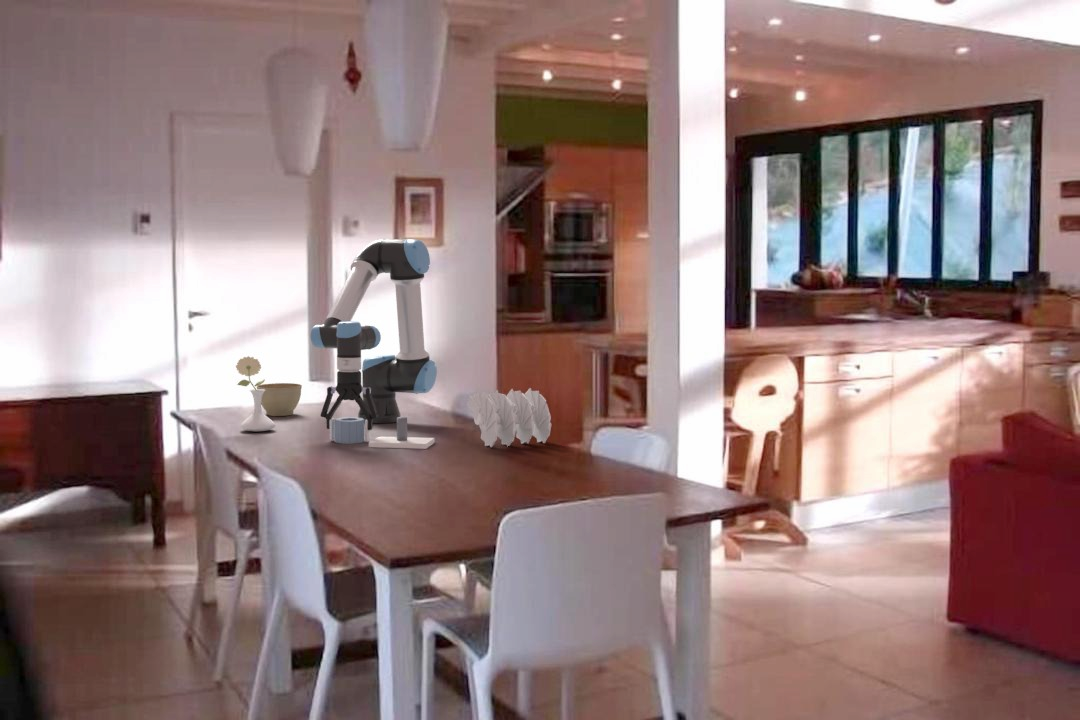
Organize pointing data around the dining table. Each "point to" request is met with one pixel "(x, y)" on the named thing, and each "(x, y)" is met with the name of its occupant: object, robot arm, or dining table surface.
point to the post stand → (402, 439)
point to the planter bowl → (280, 398)
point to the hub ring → (349, 430)
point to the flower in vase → (257, 418)
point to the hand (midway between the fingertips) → (349, 439)
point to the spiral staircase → (511, 416)
